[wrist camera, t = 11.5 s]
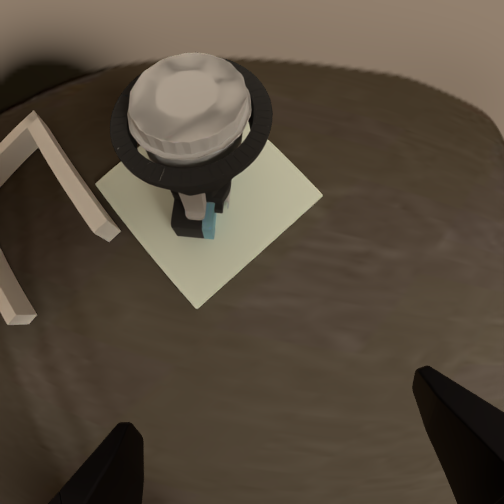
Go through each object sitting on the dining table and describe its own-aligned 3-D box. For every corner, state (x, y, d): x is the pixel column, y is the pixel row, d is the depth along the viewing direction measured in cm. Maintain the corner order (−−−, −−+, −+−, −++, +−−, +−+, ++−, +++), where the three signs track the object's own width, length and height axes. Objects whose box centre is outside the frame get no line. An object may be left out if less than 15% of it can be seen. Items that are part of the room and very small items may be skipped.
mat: (197, 309, 18) (196, 309, 17) (97, 186, 18) (94, 183, 18) (320, 198, 19) (323, 195, 19) (216, 96, 20) (216, 92, 19)
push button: (171, 137, 19) (139, 16, 9) (255, 144, 19) (281, 22, 9) (152, 240, 17) (79, 168, 8) (245, 249, 18) (271, 182, 8)
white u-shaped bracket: (29, 323, 16) (7, 325, 14) (-28, 208, 17) (-47, 198, 15) (121, 231, 18) (107, 220, 15) (48, 126, 19) (33, 110, 16)
